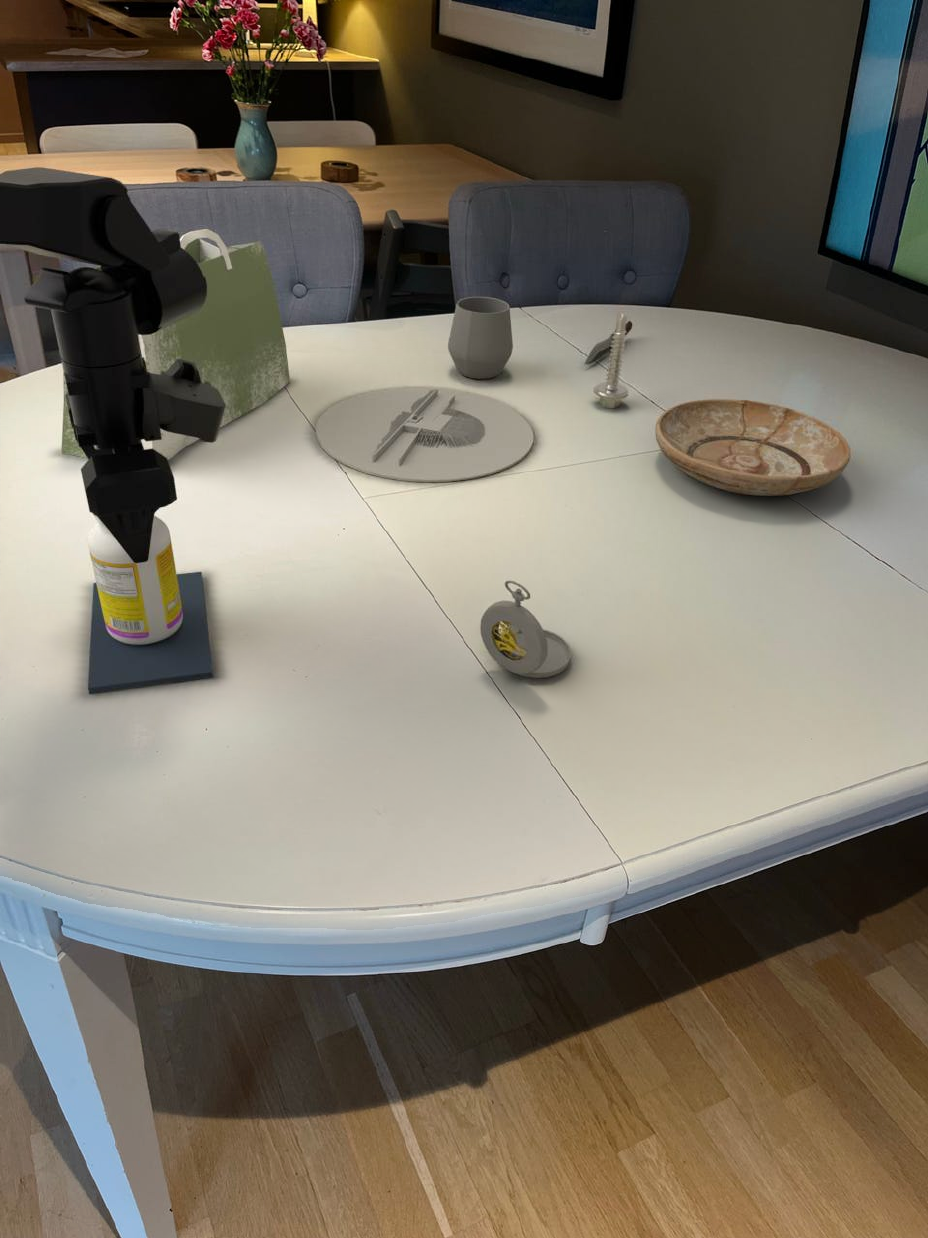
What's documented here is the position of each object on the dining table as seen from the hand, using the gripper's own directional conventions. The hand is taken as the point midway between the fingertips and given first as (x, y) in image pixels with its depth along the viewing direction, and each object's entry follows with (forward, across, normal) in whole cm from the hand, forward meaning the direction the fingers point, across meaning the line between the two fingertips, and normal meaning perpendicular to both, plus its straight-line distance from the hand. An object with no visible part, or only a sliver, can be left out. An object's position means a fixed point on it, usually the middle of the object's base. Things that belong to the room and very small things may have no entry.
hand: (133, 533), depth 81 cm
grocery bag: (+10, +46, -11) cm, 49 cm away
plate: (+10, +32, -39) cm, 52 cm away
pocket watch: (+10, -16, -30) cm, 35 cm away
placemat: (+10, 0, 0) cm, 10 cm away
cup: (+10, +49, -54) cm, 74 cm away
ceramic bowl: (+10, +10, -73) cm, 74 cm away
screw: (+10, +33, -67) cm, 76 cm away
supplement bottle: (+10, 0, 0) cm, 10 cm away
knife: (+10, +51, -77) cm, 93 cm away
